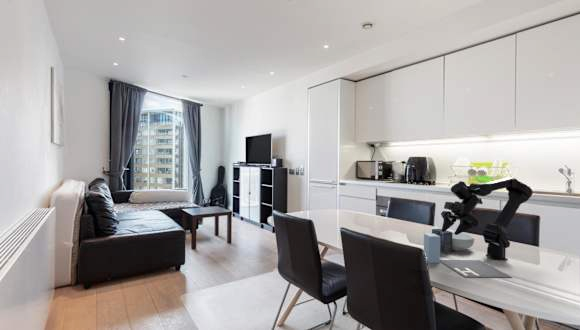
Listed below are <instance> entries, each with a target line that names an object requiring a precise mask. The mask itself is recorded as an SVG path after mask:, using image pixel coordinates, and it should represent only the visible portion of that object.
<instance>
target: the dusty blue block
mask: <svg viewBox="0 0 580 330" xmlns="http://www.w3.org/2000/svg"><path fill="white" fill-rule="evenodd" d="M424 251H425V253H426V257H427V261H426V262H427V263H428V264H440V263H441V262H440V260H441V252H440V236H438V235H436V234H432V233H424V234H423V252H424Z"/></svg>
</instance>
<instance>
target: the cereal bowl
mask: <svg viewBox="0 0 580 330" xmlns="http://www.w3.org/2000/svg"><path fill="white" fill-rule="evenodd" d="M451 232H452V251H463V250H466V249H470V248H472V246H473V245H474V243H475V237H474V236H472V235H470V234H466V233H464V232H462V233H460V234H458V235H455V234H454V233H455V231H451Z"/></svg>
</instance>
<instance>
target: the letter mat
mask: <svg viewBox="0 0 580 330" xmlns="http://www.w3.org/2000/svg"><path fill="white" fill-rule="evenodd" d="M440 263H441V264H442V265H444V266H446V267H448V268H449V269H451V270H452V271H454V272H455V273H457V274H458V275H460V276H462V277H463V278H466V279H467V278H470V279H471V278H477V279H478V278H481V279H482V278H483V279H484V278H487V279H489V278H490V279H491V278H492V279H494V278H495V279H511V278H512V275H509V274H507V273H505V272H503V271H501V270H500V269H497V268H495V267H493V266H491V265H489V264H488V263H485V262H483V261H482V260H479V259H440Z"/></svg>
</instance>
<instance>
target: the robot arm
mask: <svg viewBox="0 0 580 330" xmlns="http://www.w3.org/2000/svg"><path fill="white" fill-rule="evenodd" d="M502 189H505V190H506V191H507V192H508V193H507V196H508V200H507V202H506V203H505V205H504V206H503V208H502V210H501V211H500V213H499V214H498V217H497V218H496V220H495V221H494V222H493V223H487V224H486V226H485V228H483V233H482V237H483V240H484V243H485V244H487V248H486V254H485V257H488V258H491V259H492V260H495V261H501V260H502V261H507V260H509V258H507V257H506V253H507V248H510V246H511V245H510V244H511V242H510V240H508V239H507V235H508V233H507V228H508V226H509V224H510V223H511V221H512V219H513V217H514V216H515V215H516V213H517V211H518V210H519V208H520V206H521V205H522V204H523V203H526V202H527V201H529V199H531V197H532V196H533V189H532V188H531V186H528V185H527V184H525V183H523V182H522V181H519V180H518V179H517V178H515V177H503V178H500V179H497V180H492V181H487V182H472V183H470V184H469V185H467V184H466V182H465V181H462V180H461V181H459V182H458V183H455V184H454V185H452V186H451V187H450V192H451V193H452V194H453V195H455V197H456V198H458V199H459V200H461V201H457V200H456V201H454V202H451V201H445V203H444V206H443V209H444V210H443V211H442V212H441V213H440V215H441V218H442V219H443V221H442V227H441V229H442V231H443V232H444V231H448V229H450V228H451V227H453V225H454V224H455V222H457V221H459V224H458V226H457V227H456V230H455V231H454V232H455V233H454V234H455V235H458V234H460V233H464V232H466V231H468V230H470V229H473V228H475V227H476V228H477V227H478V225H479V224H480V222H479V221H480V220H479V219H478V218H476V217H475V216H474V215H473V214H475V208H476V207H477V205H483V200H482V198H481V197H486V196H489V195H490V194H491V193H492V192H494V191H498V190H502ZM478 196H479V197H478ZM447 210H449V211H447Z"/></svg>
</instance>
